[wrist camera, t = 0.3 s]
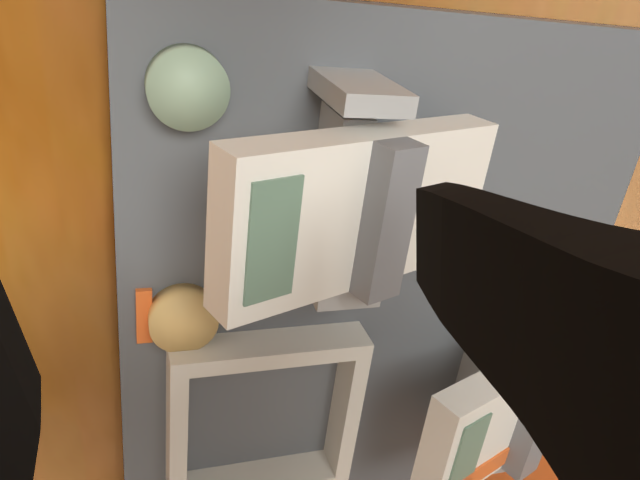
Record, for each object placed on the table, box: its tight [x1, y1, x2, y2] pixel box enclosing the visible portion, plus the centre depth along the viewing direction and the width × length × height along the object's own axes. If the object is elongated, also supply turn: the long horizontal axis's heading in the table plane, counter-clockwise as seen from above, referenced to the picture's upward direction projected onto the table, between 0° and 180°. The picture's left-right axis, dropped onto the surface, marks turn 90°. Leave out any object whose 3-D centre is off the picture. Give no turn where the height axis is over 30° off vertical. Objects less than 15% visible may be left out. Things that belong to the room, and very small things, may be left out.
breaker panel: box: [106, 0, 640, 480], centre depth 22 cm, size 19×23×4 cm
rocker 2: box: [410, 371, 542, 480], centre depth 23 cm, size 9×4×2 cm, turn 82°
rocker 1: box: [203, 114, 499, 330], centre depth 16 cm, size 9×4×2 cm, turn 82°
